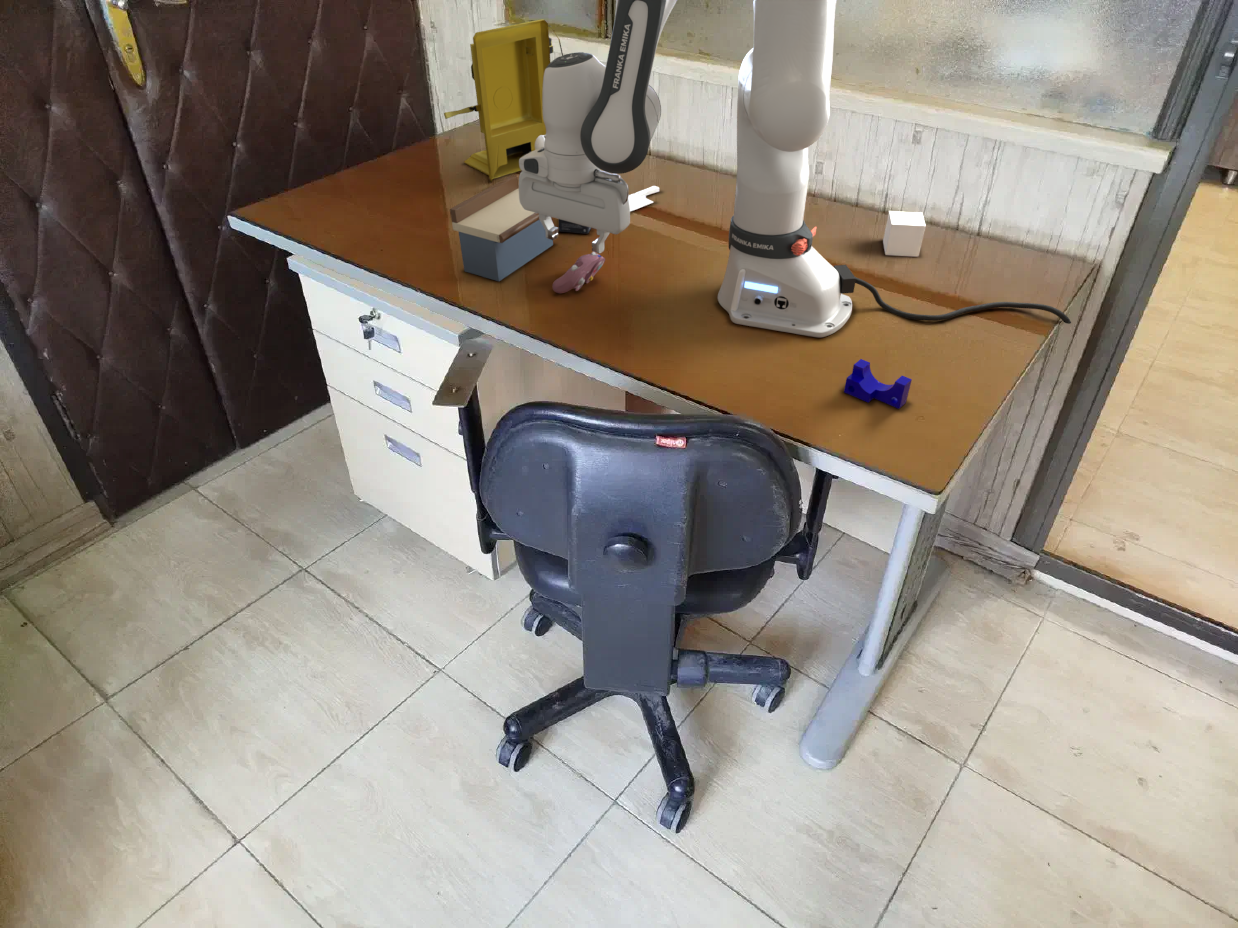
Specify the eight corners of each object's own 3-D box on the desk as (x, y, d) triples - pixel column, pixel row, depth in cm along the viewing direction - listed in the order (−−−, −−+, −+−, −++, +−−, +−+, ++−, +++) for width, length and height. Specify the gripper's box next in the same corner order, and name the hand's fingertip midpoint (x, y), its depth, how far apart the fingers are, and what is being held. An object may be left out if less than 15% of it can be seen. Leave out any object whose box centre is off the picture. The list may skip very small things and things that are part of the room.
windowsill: (565, 246, 158) (561, 186, 151) (508, 286, 147) (501, 222, 139) (518, 234, 163) (512, 174, 155) (459, 271, 151) (449, 209, 143)
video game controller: (568, 306, 144) (581, 277, 138) (548, 289, 144) (561, 261, 139) (599, 282, 150) (613, 255, 145) (580, 267, 150) (593, 238, 145)
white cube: (915, 242, 157) (922, 212, 153) (918, 257, 153) (926, 226, 149) (882, 240, 158) (888, 210, 154) (885, 255, 154) (891, 224, 150)
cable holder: (843, 392, 120) (848, 369, 118) (856, 381, 122) (860, 358, 120) (894, 413, 116) (899, 390, 114) (905, 402, 118) (911, 379, 116)
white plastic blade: (670, 196, 176) (670, 191, 175) (618, 217, 168) (618, 211, 167) (653, 189, 179) (654, 184, 178) (601, 209, 171) (601, 204, 170)
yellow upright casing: (549, 139, 204) (540, 3, 185) (584, 154, 196) (578, 13, 176) (438, 171, 189) (415, 26, 170) (471, 189, 181) (450, 39, 161)
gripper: (638, 171, 131) (636, 252, 139) (533, 146, 139) (537, 224, 147) (617, 184, 126) (617, 267, 135) (510, 158, 134) (516, 237, 143)
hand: (574, 244), depth 141 cm, fingers open, 8 cm apart
